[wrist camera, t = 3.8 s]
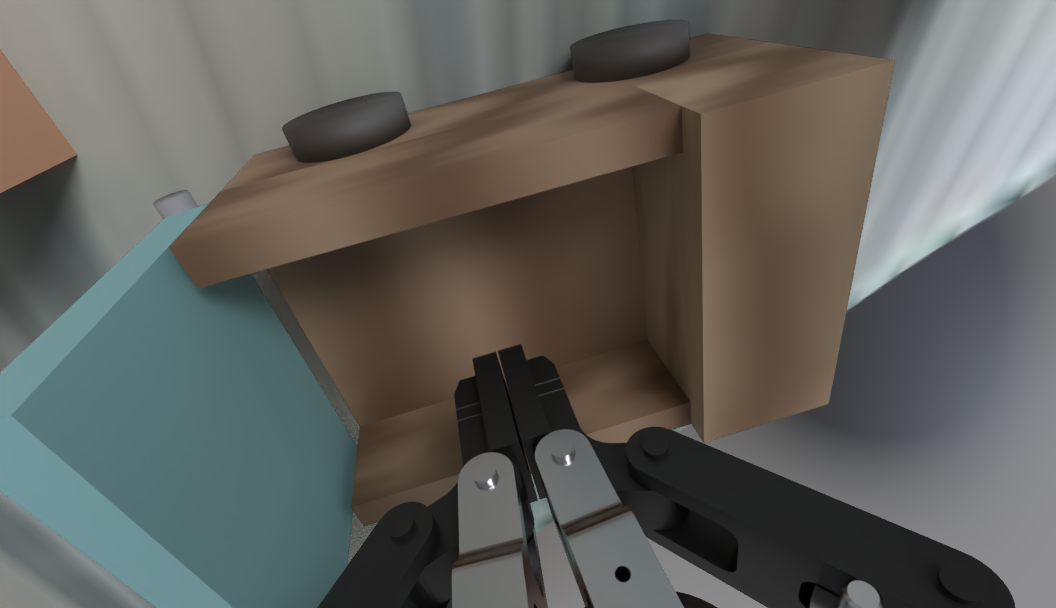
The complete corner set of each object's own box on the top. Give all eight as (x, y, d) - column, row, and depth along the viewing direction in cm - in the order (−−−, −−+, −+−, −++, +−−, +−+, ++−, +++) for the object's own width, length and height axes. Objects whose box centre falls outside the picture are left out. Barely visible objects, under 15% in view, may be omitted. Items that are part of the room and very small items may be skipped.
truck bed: (708, 4, 19) (904, 13, 11) (708, 301, 27) (824, 421, 19) (240, 128, 18) (120, 226, 10) (382, 398, 26) (372, 565, 18)
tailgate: (209, 183, 15) (-11, 397, 7) (364, 442, 22) (339, 699, 14) (161, 195, 15) (-115, 426, 7) (331, 451, 22) (288, 716, 14)
